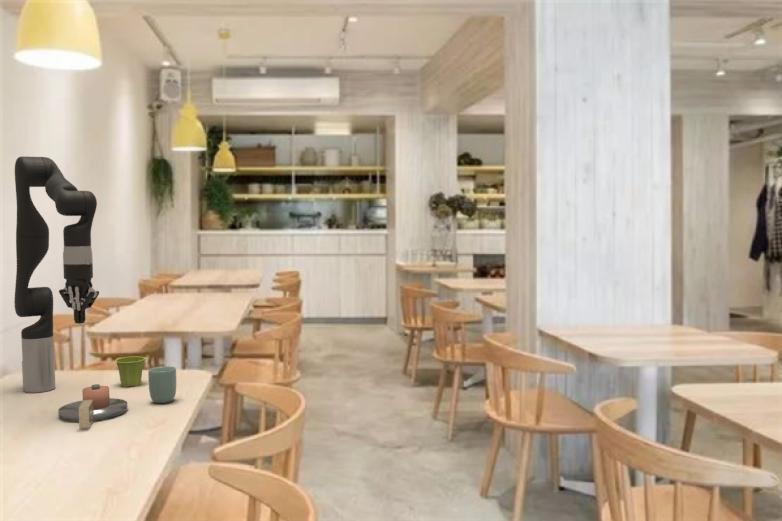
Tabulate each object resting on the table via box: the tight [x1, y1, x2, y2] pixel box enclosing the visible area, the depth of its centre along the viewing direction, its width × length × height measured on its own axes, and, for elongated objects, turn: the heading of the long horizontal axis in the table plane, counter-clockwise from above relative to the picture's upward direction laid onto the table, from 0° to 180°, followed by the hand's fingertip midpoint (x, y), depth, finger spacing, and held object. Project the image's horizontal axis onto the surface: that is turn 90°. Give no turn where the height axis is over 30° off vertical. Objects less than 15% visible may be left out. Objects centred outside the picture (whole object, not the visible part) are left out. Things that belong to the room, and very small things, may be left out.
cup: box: [147, 365, 177, 404], centre depth 211 cm, size 8×8×10 cm
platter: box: [57, 397, 129, 430], centre depth 195 cm, size 18×25×6 cm
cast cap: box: [81, 383, 111, 409], centre depth 199 cm, size 7×7×6 cm
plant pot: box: [114, 355, 146, 388], centre depth 233 cm, size 9×9×9 cm
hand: (79, 323), depth 199 cm, fingers closed
